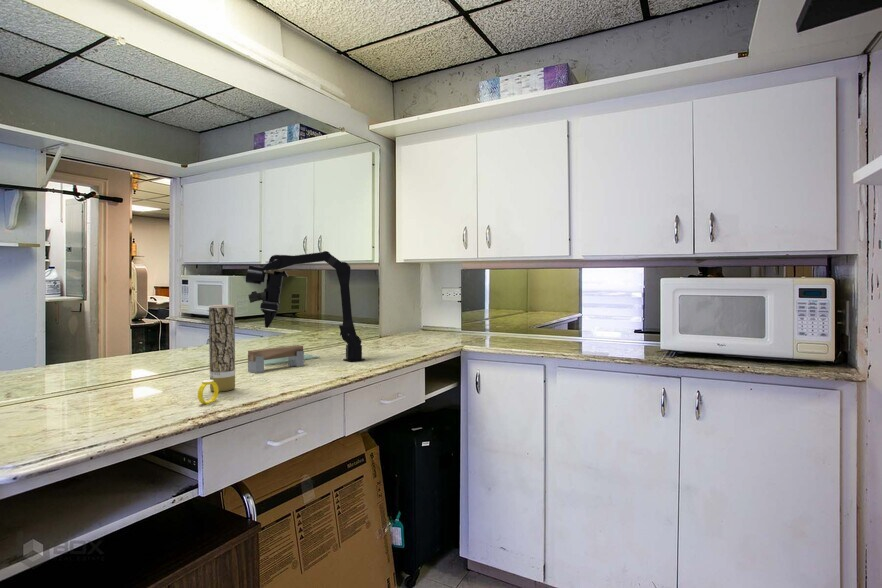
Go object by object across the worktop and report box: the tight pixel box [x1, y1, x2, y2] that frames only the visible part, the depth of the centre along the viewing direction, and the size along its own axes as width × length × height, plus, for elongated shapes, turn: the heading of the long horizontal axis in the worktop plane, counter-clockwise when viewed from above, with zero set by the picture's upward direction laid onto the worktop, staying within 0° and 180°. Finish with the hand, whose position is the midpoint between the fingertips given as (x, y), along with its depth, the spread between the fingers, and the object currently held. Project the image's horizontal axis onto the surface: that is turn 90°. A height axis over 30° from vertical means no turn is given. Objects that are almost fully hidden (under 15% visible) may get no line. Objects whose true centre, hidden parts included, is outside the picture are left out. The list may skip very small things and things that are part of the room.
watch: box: [197, 379, 219, 405], centre depth 124 cm, size 6×3×6 cm, turn 164°
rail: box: [247, 344, 304, 362], centre depth 173 cm, size 4×20×4 cm, turn 139°
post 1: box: [247, 356, 265, 374], centre depth 167 cm, size 6×3×6 cm, turn 49°
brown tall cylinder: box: [208, 304, 236, 392], centre depth 139 cm, size 7×7×25 cm
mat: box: [264, 354, 320, 366], centre depth 190 cm, size 9×24×1 cm, turn 139°
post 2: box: [288, 350, 305, 368], centre depth 179 cm, size 6×3×6 cm, turn 49°
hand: (267, 326), depth 184 cm, fingers open, 9 cm apart
